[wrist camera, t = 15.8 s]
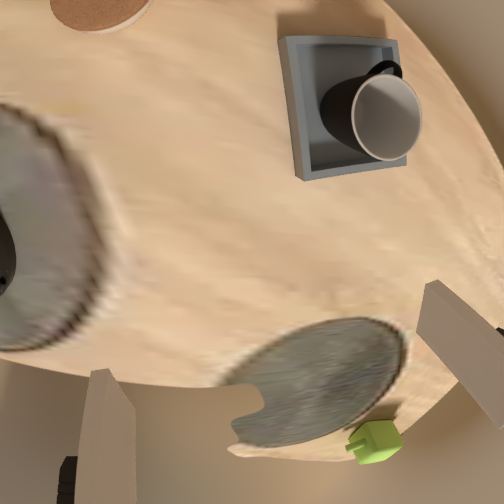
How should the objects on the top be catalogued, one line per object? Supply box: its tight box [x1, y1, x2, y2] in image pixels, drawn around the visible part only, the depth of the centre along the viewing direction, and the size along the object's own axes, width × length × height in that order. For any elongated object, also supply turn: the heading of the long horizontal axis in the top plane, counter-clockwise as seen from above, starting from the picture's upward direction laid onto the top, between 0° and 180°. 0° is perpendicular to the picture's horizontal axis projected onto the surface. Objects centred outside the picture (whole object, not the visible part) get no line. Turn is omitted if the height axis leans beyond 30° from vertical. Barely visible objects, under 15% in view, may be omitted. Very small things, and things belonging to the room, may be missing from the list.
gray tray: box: [278, 35, 406, 181], centre depth 35 cm, size 15×17×3 cm
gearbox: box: [345, 420, 404, 464], centre depth 70 cm, size 18×10×10 cm, turn 67°
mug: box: [320, 60, 422, 161], centre depth 31 cm, size 12×9×10 cm
